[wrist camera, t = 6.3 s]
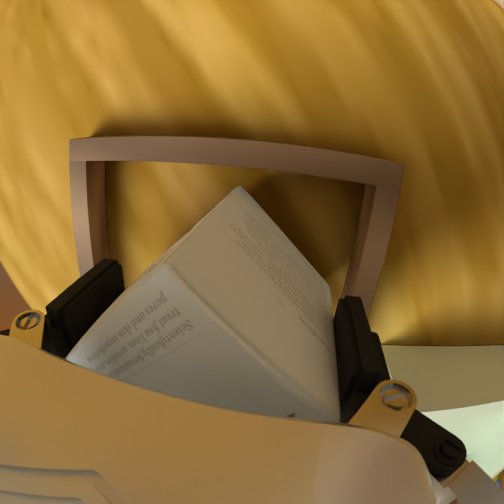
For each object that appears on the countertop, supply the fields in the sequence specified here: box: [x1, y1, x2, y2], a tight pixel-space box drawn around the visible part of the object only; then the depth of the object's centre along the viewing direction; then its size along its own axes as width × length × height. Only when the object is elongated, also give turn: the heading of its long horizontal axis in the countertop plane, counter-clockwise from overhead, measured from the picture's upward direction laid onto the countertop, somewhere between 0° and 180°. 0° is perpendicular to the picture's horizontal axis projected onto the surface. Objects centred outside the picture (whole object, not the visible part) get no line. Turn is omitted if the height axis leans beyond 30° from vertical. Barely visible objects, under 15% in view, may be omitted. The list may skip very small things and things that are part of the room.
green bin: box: [381, 345, 504, 479], centre depth 16 cm, size 18×18×5 cm
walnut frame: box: [70, 135, 404, 316], centre depth 14 cm, size 13×14×2 cm
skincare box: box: [65, 185, 340, 422], centre depth 10 cm, size 6×6×7 cm
